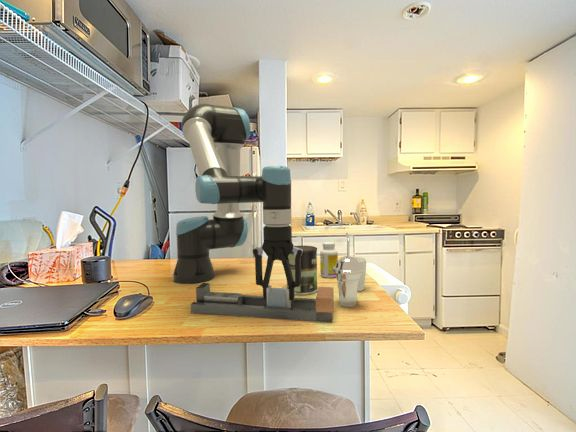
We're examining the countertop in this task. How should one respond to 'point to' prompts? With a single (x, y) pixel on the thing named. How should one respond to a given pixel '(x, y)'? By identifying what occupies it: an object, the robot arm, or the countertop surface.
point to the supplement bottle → (328, 260)
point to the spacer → (277, 297)
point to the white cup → (362, 275)
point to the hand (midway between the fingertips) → (279, 310)
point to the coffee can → (305, 270)
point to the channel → (276, 308)
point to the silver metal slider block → (216, 296)
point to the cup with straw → (347, 278)
